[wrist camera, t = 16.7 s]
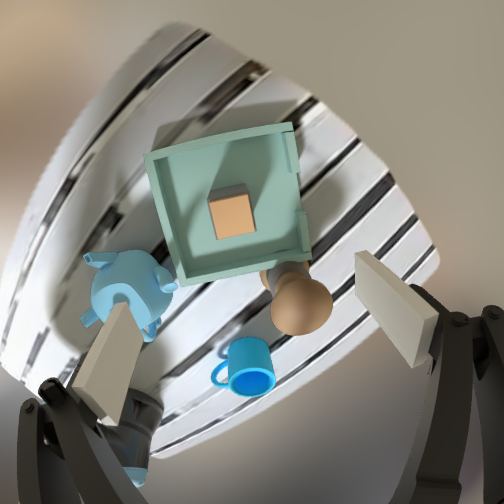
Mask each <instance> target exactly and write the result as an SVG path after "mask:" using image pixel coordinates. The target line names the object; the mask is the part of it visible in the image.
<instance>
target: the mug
mask: <svg viewBox="0 0 504 504" xmlns="http://www.w3.org/2000/svg"><path fill="white" fill-rule="evenodd" d="M227 358H228V360H226V361H224V362H222V363H220V364H219V365H218V366H217V367H216V368H215V369H214V370H213V372H212V374H211V380H212V383H213V384H214V385H215V386H217V387H220V388H230V390H231V391H233V392H234V393H235V394H237V395H239V396H243V397H256V396H261V395H263V394H266V393H268V392H269V391H270V390H272V388H273V387H274V386H275V383H276V378H275V373H274V369H273V364H272V360H271V356H270V351H269V347H268V345H267V344H266V342H264V341H263V340H261V339H259V338H255V337H245V338H240V339H238V340H236V341H234V342H233V343H232V344H231V345H230V346H229V348H228V353H227ZM227 365H228V382H229V383H219V382H218V381H217V380H216V377H217V374H218V373H219V371H220V370H222V369H223V368H224V367H226V366H227Z"/></svg>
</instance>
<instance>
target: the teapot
mask: <svg viewBox="0 0 504 504" xmlns="http://www.w3.org/2000/svg"><path fill="white" fill-rule="evenodd" d="M83 258H84V260H85V262H86V264H87V265H90V266H93V267H96V268H99V270H98V272H97V273H96V275H95V277H94V279H93V282H92V286H91V304H92V307H91V308H90V309H89V310H88V311H86V312H85V313H84V314H83V315H82V316H81V317H80V318H79V319H80V321H81V322H82V323H83V325H84V326H85V327H86V328H88V327H89V326H91V325H92V324H93V323H94V322H95V321H97V320H98V319H99V318H100V319H101V320H102V322H103V323H105V321H106V319H107V318H108V316H109V314H110V312H111V311H112V309H113V307H114V306H115V304H116V303H121V302H127V304H128V306H129V308H130V310H131V312H132V314H133V317H134V319H135V321H136V323H137V325H138V327H139V329H140V331H141V333H142V335H143V337H144V341H145V342H151V341H153V340H154V339H155V338H156V335H157V327H159V326H160V325H161V319H160V316H161V315H162V314H163V313H164V312H165V311H166V309H167V308H168V306H169V305H170V303H171V300H172V297H173V291H175V290H176V289H177V288H178V285H177V284H176V283H173V277H172V275H171V273H170V272H169V271H168V270H167V269H166V268H164V267H161V266H160V265H159V264H158V262H157V261H156V260H155V259H154V258H153V257H152V256H151V255H150V254H149V253H147V252H145V251H142V250H128V251H124V252H121V253H117V252H88V253H87V254H85V255H83ZM146 326H148V327H149V335H148V334H147V333H146V331H145V330H144V328H145V327H146Z"/></svg>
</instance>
